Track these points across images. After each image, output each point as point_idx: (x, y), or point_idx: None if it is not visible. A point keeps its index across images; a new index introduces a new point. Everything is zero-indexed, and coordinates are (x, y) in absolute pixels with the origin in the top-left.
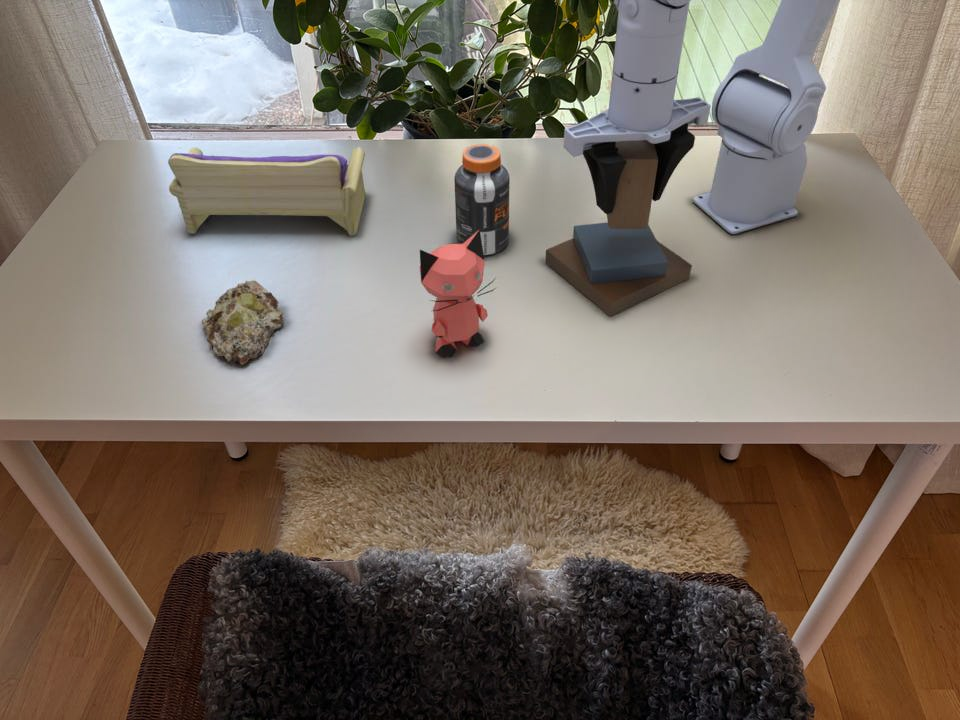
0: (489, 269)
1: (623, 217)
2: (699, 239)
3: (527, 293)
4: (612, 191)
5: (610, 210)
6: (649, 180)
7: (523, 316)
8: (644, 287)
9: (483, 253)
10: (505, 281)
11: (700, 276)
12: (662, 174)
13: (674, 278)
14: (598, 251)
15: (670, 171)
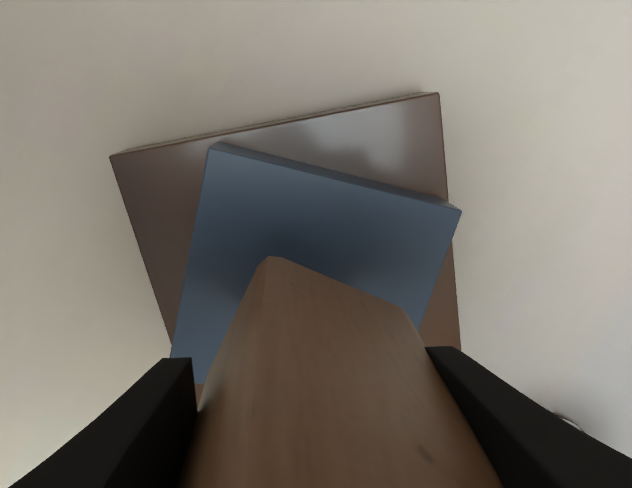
0: (571, 371)
1: (374, 313)
2: (14, 293)
3: (549, 263)
4: (529, 418)
5: (447, 352)
6: (293, 418)
7: (609, 189)
8: (308, 118)
9: (564, 420)
10: (566, 321)
11: (88, 145)
12: (127, 467)
13: (184, 139)
14: (390, 286)
15: (61, 472)
